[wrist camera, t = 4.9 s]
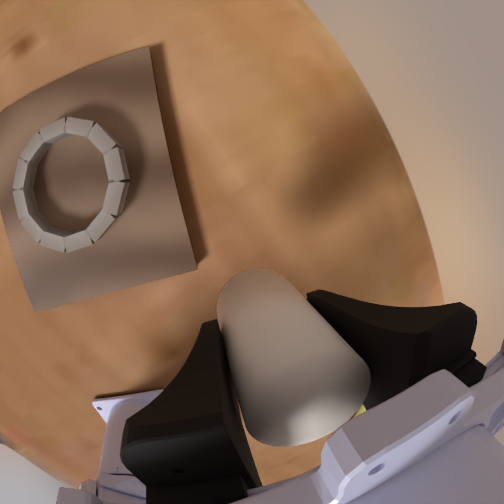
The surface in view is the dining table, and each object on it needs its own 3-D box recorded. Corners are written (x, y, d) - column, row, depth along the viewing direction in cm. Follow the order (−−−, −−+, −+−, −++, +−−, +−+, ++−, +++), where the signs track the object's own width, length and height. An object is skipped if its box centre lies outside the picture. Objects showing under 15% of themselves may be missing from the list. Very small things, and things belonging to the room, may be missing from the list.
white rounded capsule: (299, 327, 15) (366, 417, 8) (227, 349, 14) (258, 458, 7) (289, 258, 13) (374, 331, 7) (207, 280, 13) (228, 381, 6)
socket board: (197, 264, 20) (198, 276, 17) (40, 307, 18) (27, 320, 15) (150, 52, 15) (146, 36, 13) (-5, 121, 13) (-22, 118, 10)
